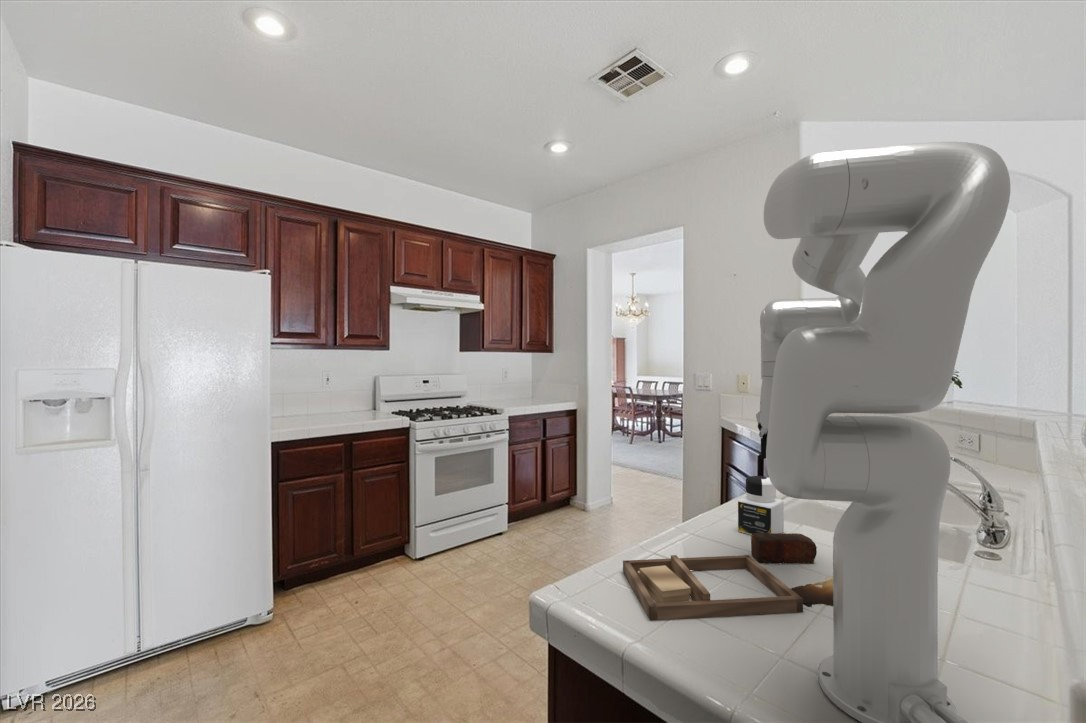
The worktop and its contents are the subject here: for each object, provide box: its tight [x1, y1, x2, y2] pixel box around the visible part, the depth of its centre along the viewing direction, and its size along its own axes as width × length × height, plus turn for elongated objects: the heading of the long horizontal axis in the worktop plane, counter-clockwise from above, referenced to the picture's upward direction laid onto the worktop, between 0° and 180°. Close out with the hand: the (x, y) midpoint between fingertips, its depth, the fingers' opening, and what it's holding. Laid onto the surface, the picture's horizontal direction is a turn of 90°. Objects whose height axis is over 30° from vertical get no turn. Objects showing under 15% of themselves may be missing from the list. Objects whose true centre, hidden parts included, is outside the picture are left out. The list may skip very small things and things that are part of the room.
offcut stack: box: [637, 565, 692, 603], centre depth 78 cm, size 10×5×3 cm, turn 13°
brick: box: [750, 532, 818, 565], centre depth 90 cm, size 11×4×5 cm, turn 90°
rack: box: [622, 554, 804, 621], centre depth 78 cm, size 16×24×3 cm
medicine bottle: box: [737, 475, 785, 536], centre depth 104 cm, size 7×7×12 cm
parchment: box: [789, 575, 833, 608], centre depth 79 cm, size 25×10×1 cm, turn 105°
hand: (784, 463), depth 89 cm, fingers open, 9 cm apart
